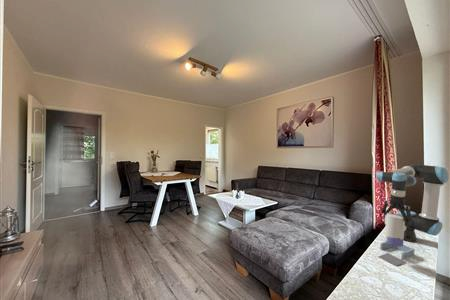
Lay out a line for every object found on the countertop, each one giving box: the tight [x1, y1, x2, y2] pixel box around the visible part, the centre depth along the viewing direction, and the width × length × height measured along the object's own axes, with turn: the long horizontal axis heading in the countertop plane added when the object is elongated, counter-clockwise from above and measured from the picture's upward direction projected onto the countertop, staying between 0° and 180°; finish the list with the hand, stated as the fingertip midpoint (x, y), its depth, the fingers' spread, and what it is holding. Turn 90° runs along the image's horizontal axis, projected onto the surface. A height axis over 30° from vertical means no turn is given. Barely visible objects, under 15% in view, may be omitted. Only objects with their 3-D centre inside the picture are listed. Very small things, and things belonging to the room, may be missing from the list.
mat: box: [378, 252, 407, 267], centre depth 140 cm, size 11×11×1 cm
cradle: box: [379, 241, 416, 261], centre depth 149 cm, size 14×14×5 cm
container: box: [383, 212, 405, 247], centre depth 139 cm, size 10×10×20 cm
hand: (394, 226), depth 139 cm, fingers closed on container, 10 cm apart
